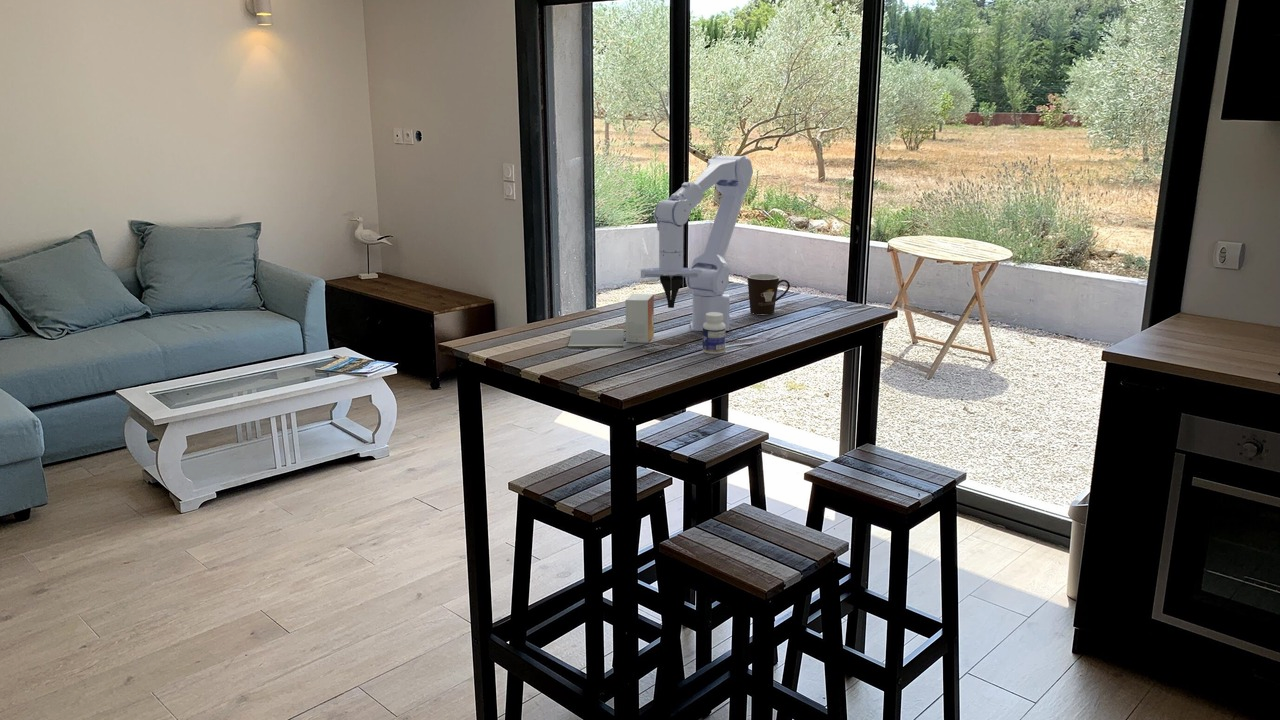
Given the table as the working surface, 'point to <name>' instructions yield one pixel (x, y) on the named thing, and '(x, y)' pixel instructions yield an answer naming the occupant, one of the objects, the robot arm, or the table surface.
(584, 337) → the mat
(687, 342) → the table surface
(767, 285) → the coffee mug
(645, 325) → the small box
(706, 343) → the pill bottle
